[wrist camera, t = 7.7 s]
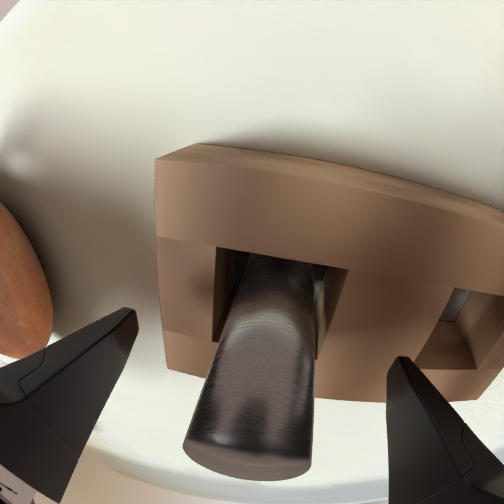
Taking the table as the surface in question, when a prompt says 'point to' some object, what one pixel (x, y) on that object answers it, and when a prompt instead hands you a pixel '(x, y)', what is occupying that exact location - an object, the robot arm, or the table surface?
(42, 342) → the ceramic jug
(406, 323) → the hole block
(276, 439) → the peg
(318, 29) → the table surface
